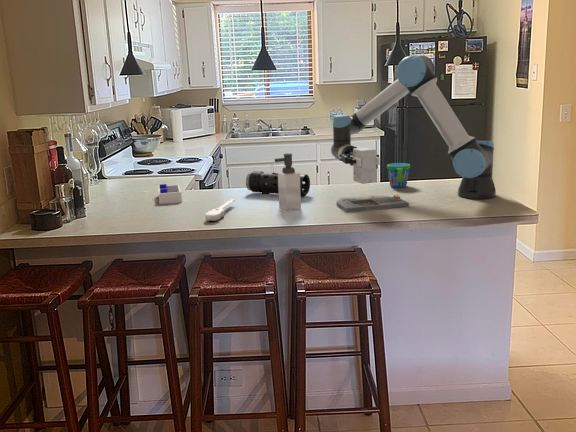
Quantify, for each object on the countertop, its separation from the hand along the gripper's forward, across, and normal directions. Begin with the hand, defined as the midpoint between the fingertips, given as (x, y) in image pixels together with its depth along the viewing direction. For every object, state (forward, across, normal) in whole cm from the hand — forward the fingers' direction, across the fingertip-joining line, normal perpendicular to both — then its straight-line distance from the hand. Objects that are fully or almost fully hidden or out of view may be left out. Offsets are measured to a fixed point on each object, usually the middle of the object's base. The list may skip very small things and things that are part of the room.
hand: (369, 162), depth 220 cm
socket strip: (-5, -3, -19) cm, 19 cm away
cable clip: (-51, +77, -19) cm, 94 cm away
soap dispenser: (-13, +30, -19) cm, 38 cm away
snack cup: (-36, -28, -19) cm, 49 cm away
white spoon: (-15, +56, -19) cm, 61 cm away
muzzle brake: (-40, +28, -19) cm, 52 cm away
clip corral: (-51, +75, -18) cm, 93 cm away
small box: (-5, 0, -9) cm, 10 cm away
